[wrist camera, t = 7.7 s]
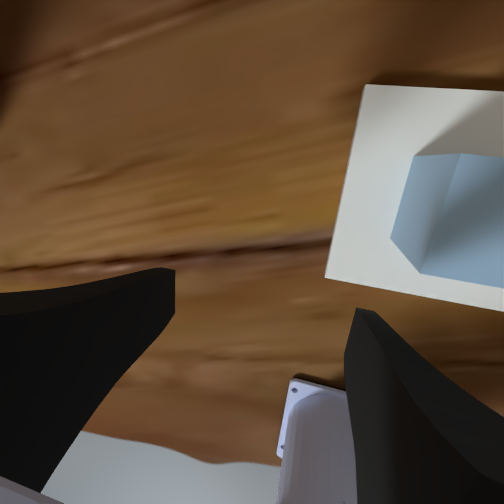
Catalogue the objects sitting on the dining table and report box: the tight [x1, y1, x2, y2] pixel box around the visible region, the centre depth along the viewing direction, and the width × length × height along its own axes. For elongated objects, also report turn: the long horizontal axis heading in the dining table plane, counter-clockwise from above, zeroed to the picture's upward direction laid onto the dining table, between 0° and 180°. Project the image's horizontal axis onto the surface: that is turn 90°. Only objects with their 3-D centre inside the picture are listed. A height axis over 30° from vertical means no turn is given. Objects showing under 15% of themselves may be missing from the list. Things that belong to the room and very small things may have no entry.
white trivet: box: [325, 84, 504, 312], centre depth 17 cm, size 12×12×1 cm
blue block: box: [390, 153, 504, 289], centre depth 13 cm, size 5×5×6 cm
